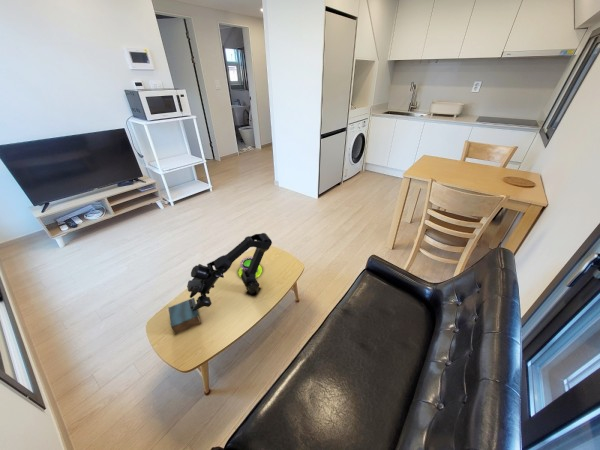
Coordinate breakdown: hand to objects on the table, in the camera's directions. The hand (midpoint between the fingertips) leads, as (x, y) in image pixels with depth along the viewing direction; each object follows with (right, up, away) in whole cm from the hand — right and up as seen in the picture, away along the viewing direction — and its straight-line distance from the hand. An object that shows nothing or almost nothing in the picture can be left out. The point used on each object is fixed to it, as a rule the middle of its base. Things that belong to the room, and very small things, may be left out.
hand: (192, 303), depth 121 cm
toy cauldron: (+23, +10, +33) cm, 41 cm away
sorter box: (-4, -10, +3) cm, 11 cm away
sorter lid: (-4, -4, 0) cm, 6 cm away
